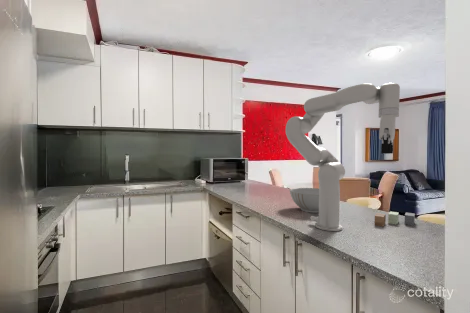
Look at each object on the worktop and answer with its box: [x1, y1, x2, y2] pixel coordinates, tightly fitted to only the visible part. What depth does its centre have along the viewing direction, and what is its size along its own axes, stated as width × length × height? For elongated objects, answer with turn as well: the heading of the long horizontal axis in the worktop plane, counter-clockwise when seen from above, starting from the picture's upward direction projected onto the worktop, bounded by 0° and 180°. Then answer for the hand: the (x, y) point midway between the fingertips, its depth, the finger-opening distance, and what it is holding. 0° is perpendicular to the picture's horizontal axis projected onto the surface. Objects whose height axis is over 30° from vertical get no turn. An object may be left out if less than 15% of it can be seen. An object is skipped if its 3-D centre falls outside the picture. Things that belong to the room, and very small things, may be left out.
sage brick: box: [387, 210, 400, 225], centre depth 139 cm, size 7×4×5 cm, turn 143°
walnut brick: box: [374, 212, 386, 227], centre depth 135 cm, size 7×4×5 cm, turn 143°
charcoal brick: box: [404, 212, 416, 226], centre depth 138 cm, size 7×4×5 cm, turn 143°
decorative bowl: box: [289, 187, 319, 214], centre depth 164 cm, size 27×27×12 cm
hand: (387, 153), depth 113 cm, fingers open, 9 cm apart
